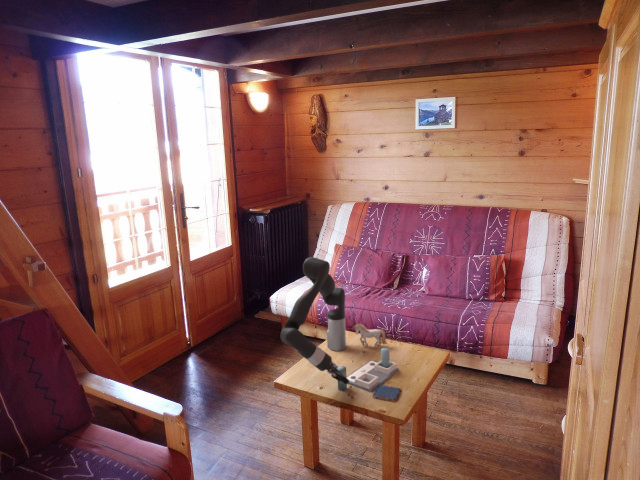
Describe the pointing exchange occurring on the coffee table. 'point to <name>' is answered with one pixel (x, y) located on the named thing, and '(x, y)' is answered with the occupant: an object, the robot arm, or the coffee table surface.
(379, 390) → the woven mat
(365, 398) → the coffee table surface
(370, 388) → the peg board
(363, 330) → the unicorn figurine
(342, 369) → the teal peg
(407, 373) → the coffee table surface
